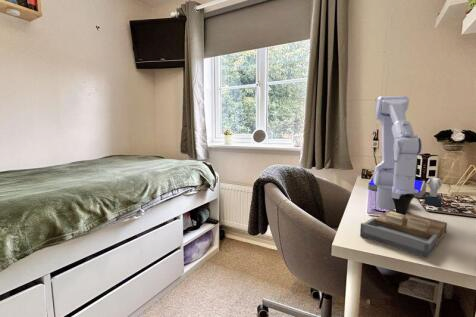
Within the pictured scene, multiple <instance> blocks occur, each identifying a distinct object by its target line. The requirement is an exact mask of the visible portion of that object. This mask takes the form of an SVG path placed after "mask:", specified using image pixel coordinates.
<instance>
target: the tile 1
mask: <svg viewBox="0 0 476 317" xmlns="http://www.w3.org/2000/svg"><path fill="white" fill-rule="evenodd" d="M406 217H407V215H403V214H399V213H395V212H389V213H388V214H386V217H385V221H387V222H391V223H395V224H399V225H402V224H403V223H405V222H406Z"/></svg>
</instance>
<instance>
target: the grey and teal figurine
mask: <svg viewBox="0 0 476 317" xmlns="http://www.w3.org/2000/svg"><path fill="white" fill-rule="evenodd" d="M425 183H426V184H427V185H428V188H429V189H430V191H429V194H427V193H425V194H424V201H423V202H424V203H423V204H424V205H427V206H428V205H430V206H436V207H442V202H443V201H442V199H443V197H442V196H440V195H438V191H439V190H440V189H441V187H442V186H443V181H442V180H441V178H438V177H430V178H428V180H427V181H425Z"/></svg>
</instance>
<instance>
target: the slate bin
mask: <svg viewBox="0 0 476 317" xmlns="http://www.w3.org/2000/svg"><path fill="white" fill-rule="evenodd" d="M376 218H377V217H376ZM376 218H375V217H372V218H370V219H368V220H366V221H365V222H361V223H360V233H359V236H360V237H362V238H365V239H368V240H371V241H374V242H377V243H380V244H384V245H386V246H390V247H391V248H395V249H398V250H401V251H405V252H408V253H410V254H414V255H417V256H419V257H422V258H425V259H428V258H429V257H430V255H431V254H432V252H434V251H435V249H436V247H437V244H438V242H437V235H435V234H433V236H432V237H431V238H430V239H429V240H428V239H425V238H421V237H418V236H414V235H411V234H407V233H404V232H400V231H397V230H393V229H390V228H386V227H383V226H379V225H376V224H375V220H376ZM436 243H437V244H436Z"/></svg>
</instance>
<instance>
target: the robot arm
mask: <svg viewBox="0 0 476 317" xmlns="http://www.w3.org/2000/svg"><path fill="white" fill-rule="evenodd" d="M409 103H410V100H409V97H408V96H407V95H406V94H405V95H397V96H396V95H395V96H394V95H393V96H392V95H391V96H389V95H387V96H381V95H379V96H378V97H377V99H376V105H375V117H376V120H378V121H380V125H381V162H380V163H378V164H377V165H375V167H374V168H373V174H374V176H373V181H374V184H375V185H376V186H377V191H376V202H375V206H377V207H378V208H381V209H386V210H394V209H396V213H399V214H403V215H406V213H407V211H408V209H409V206H410V204H411V202H412V200H413V199H414V198H415V197H414V195H413V194H409V193H418V190H415V189H414V184H415V180H416V177H415V173H416V163H417V162H418V156H419V155H421V152H422V150H423V148H422V147H423V144H422V143H423V142H422V138H421V137H419V136H418V135H416V134H415V131H414V128H413V126H412V123H411V122H410V121H408V120H407V117H406V112H407V110H408V108H409V105H410V104H409ZM387 170H394V171H387ZM416 174H417V173H416Z"/></svg>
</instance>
